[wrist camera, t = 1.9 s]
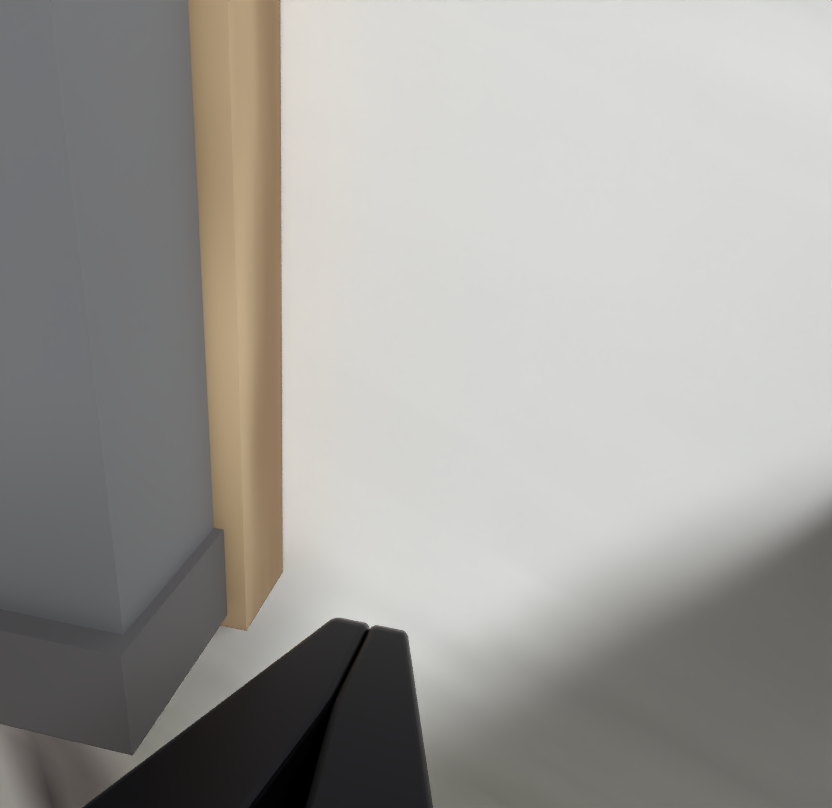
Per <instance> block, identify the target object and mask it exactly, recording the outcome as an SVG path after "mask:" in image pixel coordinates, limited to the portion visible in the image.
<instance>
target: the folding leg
mask: <svg viewBox="0 0 832 808" xmlns="http://www.w3.org/2000/svg"><path fill="white" fill-rule="evenodd" d="M226 616H227V593H226V569H225V546H224V530H223V529H217V528H214V521H213V501H212V480H211V460H210V440H209V419H208V399H207V379H206V359H205V338H204V318H203V298H202V277H201V257H200V237H199V216H198V196H197V176H196V155H195V135H194V115H193V95H192V74H191V54H190V34H189V13H188V0H0V724H4V725H8V726H12V727H16V728H20V729H25V730H29V731H33V732H37V733H41V734H45V735H50V736H54V737H58V738H62V739H66V740H70V741H75V742H79V743H83V744H87V745H91V746H95V747H100V748H104V749H108V750H112V751H116V752H120V753H125V754H129V755H133V754H134V753H135V751H136V750H137V748H138V747H139V745H140V744H141V742H142V741H143V739H144V738H145V736H146V735H147V733H148V732H149V730H150V729H151V727H152V726H153V724H154V723H155V721H156V720H157V718H158V717H159V715H160V714H161V712H162V711H163V709H164V708H165V707H166V705H167V704H168V702H169V701H170V699H171V698H172V696H173V695H174V693H175V692H176V690H177V689H178V687H179V686H180V684H181V683H182V681H183V680H184V678H185V677H186V675H187V674H188V672H189V671H190V669H191V668H192V666H193V665H194V664H195V662H196V661H197V659H198V658H199V656H200V655H201V653H202V652H203V650H204V649H205V647H206V646H207V644H208V643H209V641H210V640H211V638H212V637H213V635H214V634H215V632H216V631H217V629H218V628H219V626H220V625H221V623H222V622H223V620H224V619H225V618H226Z"/></svg>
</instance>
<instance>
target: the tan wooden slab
mask: <svg viewBox="0 0 832 808" xmlns="http://www.w3.org/2000/svg"><path fill="white" fill-rule="evenodd" d="M188 13H189V34H190V54H191V74H192V95H193V115H194V135H195V155H196V176H197V196H198V216H199V237H200V257H201V277H202V298H203V318H204V338H205V359H206V379H207V399H208V419H209V440H210V460H211V480H212V501H213V521H214V528H217V529H223V530H224V546H225V569H226V593H227V616H226V618H225V619H224V620H223V622H222V623H221V626H226V627H231V628H236V629H241V630H246V631H247V629H248V627H249V626H250V624H251V622H252V621H253V619H254V618H255V616H256V614H257V613H258V611H259V609H260V608H261V606H262V605H263V603H264V601H265V600H266V598H267V597H268V595H269V593H270V592H271V590H272V588H273V587H274V585H275V584H276V582H277V580H278V579H279V577H280V576H281V574H282V323H281V73H280V0H188Z"/></svg>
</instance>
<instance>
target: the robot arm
mask: <svg viewBox="0 0 832 808" xmlns="http://www.w3.org/2000/svg"><path fill="white" fill-rule="evenodd" d="M82 808H433V804H432V798H431V791H430V784H429V777H428V770H427V763H426V756H425V750H424V743H423V736H422V729H421V722H420V715H419V709H418V702H417V695H416V688H415V681H414V674H413V668H412V661H411V654H410V647H409V640H408V635H407V634H406V632H405V631H403V630H398V629H393V628H388V627H383V626H378V625H375V626H373V627H371V628H369V626H368V625H367V624H366V623H363V622H359V621H354V620H349V619H344V618H334V619H332V620H330V621H329V622H327V623H326V624H325V625H323V626H322V627H321V628H319V629H318V630H317V631H315V632H314V633H313V634H311V635H310V636H309V637H307V638H306V639H305V640H303V641H302V642H301V643H299V644H298V645H297V646H295V647H294V648H293V649H291V650H290V651H289V652H288V653H286V654H285V655H284V656H282V657H281V658H280V659H278V660H277V661H276V662H274V663H273V664H272V665H270V666H269V667H268V668H266V669H265V670H264V671H262V672H261V673H260V674H258V675H257V676H256V677H254V678H253V679H252V680H250V681H249V682H248V683H246V684H245V685H244V686H243V687H241V688H240V689H239V690H237V691H236V692H235V693H233V694H232V695H231V696H229V697H228V698H227V699H225V700H224V701H223V702H221V703H220V704H219V705H217V706H216V707H215V708H213V709H212V710H211V711H209V712H208V713H207V714H205V715H204V716H203V717H201V718H200V719H199V720H198V721H196V722H195V723H194V724H192V725H191V726H190V727H188V728H187V729H186V730H184V731H183V732H182V733H180V734H179V735H178V736H176V737H175V738H174V739H172V740H171V741H170V742H168V743H167V744H166V745H164V746H163V747H162V748H160V749H159V750H158V751H156V752H155V753H154V754H153V755H151V756H150V757H149V758H147V759H146V760H145V761H143V762H142V763H141V764H139V765H138V766H137V767H135V768H134V769H133V770H131V771H130V772H129V773H127V774H126V775H125V776H123V777H122V778H121V779H119V780H118V781H117V782H115V783H114V784H113V785H111V786H110V787H109V788H107V789H106V790H105V791H104V792H102V793H101V794H100V795H98V796H97V797H96V798H94V799H93V800H92V801H90V802H89V803H88V804H86V805H85V806H84V807H82Z"/></svg>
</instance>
